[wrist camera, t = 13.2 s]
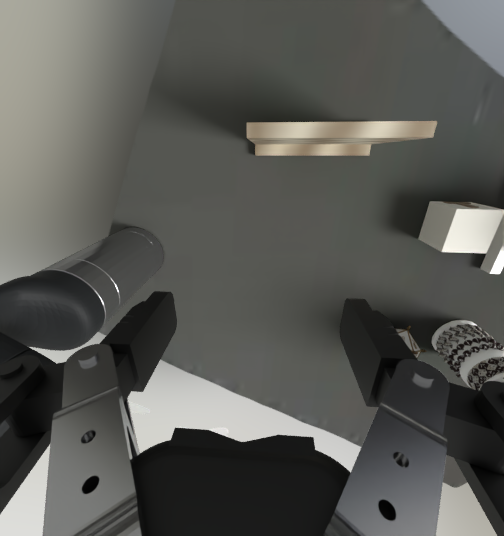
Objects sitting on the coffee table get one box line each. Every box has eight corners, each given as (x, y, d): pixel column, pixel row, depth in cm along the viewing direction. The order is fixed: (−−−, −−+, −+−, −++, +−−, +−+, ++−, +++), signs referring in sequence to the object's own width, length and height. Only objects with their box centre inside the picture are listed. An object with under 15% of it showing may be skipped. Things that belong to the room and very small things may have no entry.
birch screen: (372, 123, 33) (442, 101, 20) (366, 155, 35) (427, 155, 21) (255, 124, 34) (246, 103, 21) (255, 155, 36) (246, 155, 22)
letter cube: (456, 240, 39) (486, 253, 34) (417, 238, 40) (441, 252, 34) (471, 201, 37) (506, 208, 31) (429, 200, 37) (457, 207, 32)
